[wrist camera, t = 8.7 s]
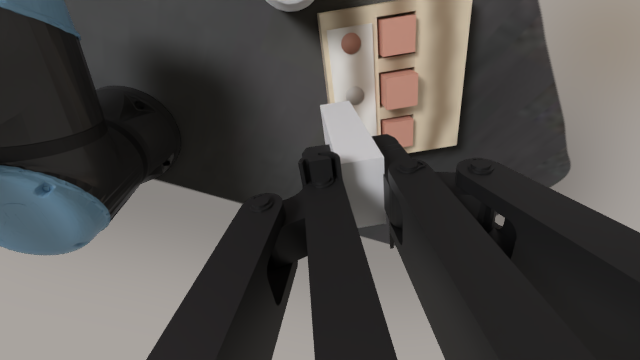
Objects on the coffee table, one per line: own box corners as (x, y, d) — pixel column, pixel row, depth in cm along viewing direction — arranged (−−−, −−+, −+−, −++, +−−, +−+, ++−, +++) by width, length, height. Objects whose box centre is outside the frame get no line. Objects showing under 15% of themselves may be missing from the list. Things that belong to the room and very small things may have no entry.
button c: (376, 53, 43) (383, 56, 40) (375, 19, 41) (382, 20, 38) (406, 48, 43) (415, 51, 40) (406, 14, 41) (416, 14, 38)
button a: (379, 141, 50) (385, 150, 47) (378, 116, 48) (384, 124, 45) (405, 136, 50) (412, 145, 47) (405, 111, 48) (413, 119, 45)
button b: (380, 102, 45) (387, 110, 42) (379, 73, 43) (386, 78, 40) (408, 98, 45) (417, 105, 42) (409, 68, 43) (418, 73, 40)
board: (334, 154, 52) (338, 166, 48) (316, 13, 41) (319, 13, 37) (445, 136, 52) (458, 146, 49) (458, -10, 41) (475, -12, 37)
